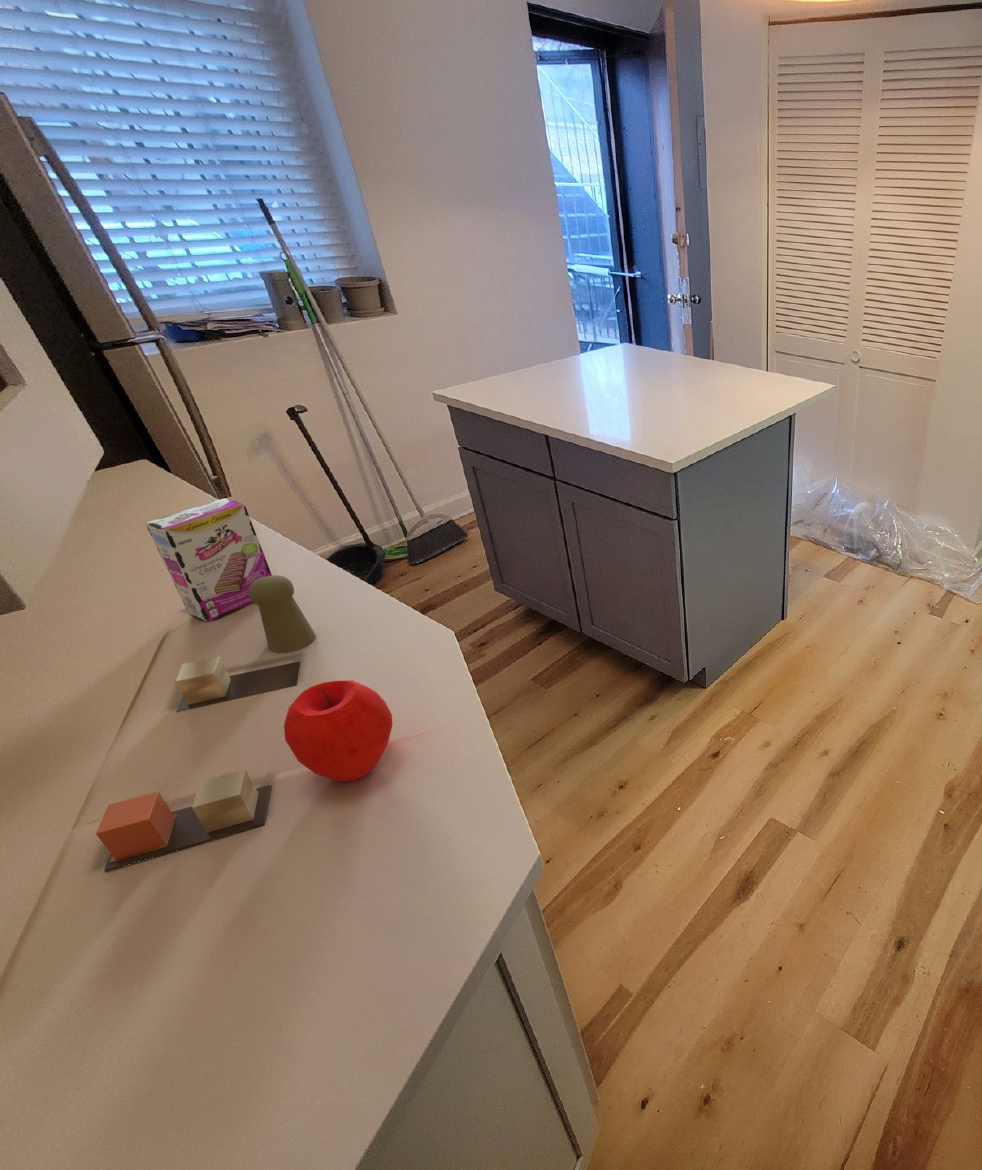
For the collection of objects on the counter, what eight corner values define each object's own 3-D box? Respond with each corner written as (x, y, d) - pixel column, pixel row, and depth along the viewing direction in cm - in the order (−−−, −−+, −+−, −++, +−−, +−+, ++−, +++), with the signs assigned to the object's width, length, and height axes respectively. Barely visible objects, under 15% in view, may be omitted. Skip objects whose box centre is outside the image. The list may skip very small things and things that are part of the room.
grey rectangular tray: (177, 713, 83) (162, 688, 80) (187, 686, 87) (173, 661, 85) (297, 686, 88) (287, 662, 86) (301, 662, 93) (291, 638, 91)
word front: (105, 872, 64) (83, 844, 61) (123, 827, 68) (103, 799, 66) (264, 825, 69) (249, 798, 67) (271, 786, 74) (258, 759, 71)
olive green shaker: (258, 648, 95) (230, 585, 89) (297, 627, 100) (273, 566, 94) (287, 658, 93) (260, 595, 88) (326, 637, 98) (302, 575, 93)
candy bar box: (210, 624, 99) (163, 529, 91) (188, 616, 101) (141, 522, 92) (281, 591, 108) (245, 502, 100) (261, 584, 110) (224, 496, 101)
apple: (414, 735, 82) (389, 659, 75) (387, 796, 73) (357, 716, 67) (328, 742, 80) (296, 665, 74) (291, 805, 72) (250, 724, 65)
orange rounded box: (114, 859, 64) (95, 833, 62) (126, 829, 67) (108, 804, 65) (165, 844, 66) (148, 819, 64) (175, 816, 69) (158, 790, 67)
